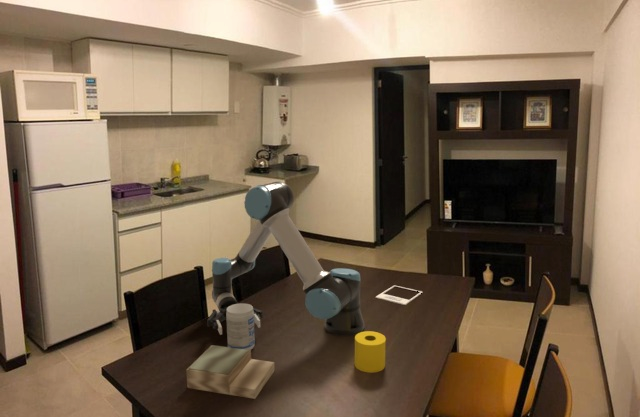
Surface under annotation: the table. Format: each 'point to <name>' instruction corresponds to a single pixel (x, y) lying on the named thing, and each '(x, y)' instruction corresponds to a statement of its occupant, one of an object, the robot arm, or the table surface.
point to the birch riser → (229, 372)
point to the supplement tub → (240, 326)
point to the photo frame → (396, 299)
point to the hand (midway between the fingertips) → (240, 327)
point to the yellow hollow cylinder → (370, 351)
